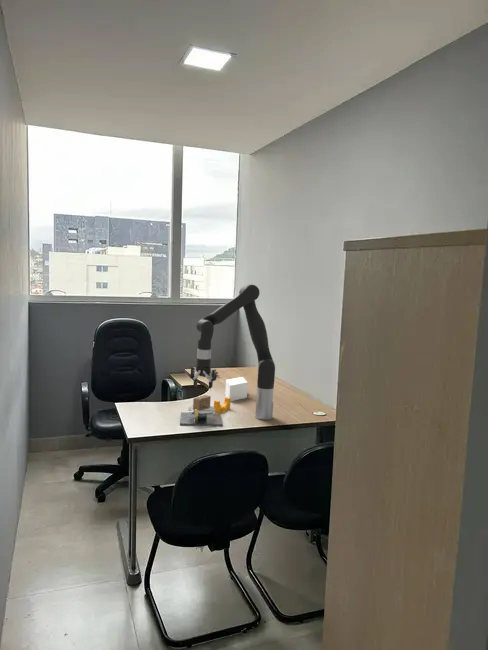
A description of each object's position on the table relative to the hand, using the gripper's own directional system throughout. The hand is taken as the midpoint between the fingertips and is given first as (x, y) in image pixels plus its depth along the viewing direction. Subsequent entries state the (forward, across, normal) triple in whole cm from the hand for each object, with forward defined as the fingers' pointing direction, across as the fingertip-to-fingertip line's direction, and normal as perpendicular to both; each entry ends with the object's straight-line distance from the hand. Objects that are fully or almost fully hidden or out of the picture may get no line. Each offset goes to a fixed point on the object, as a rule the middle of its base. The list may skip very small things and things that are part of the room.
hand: (202, 387), depth 263 cm
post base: (+18, 0, 0) cm, 18 cm away
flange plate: (+13, +1, +1) cm, 13 cm away
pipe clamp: (+18, -2, -24) cm, 30 cm away
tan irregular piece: (+18, +50, -106) cm, 119 cm away
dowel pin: (+18, -1, +8) cm, 20 cm away
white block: (+18, +5, -59) cm, 62 cm away
